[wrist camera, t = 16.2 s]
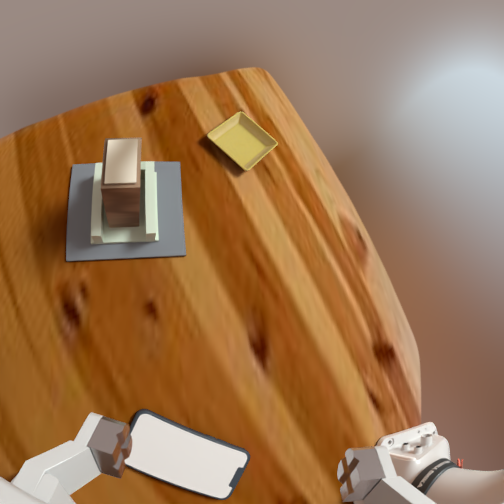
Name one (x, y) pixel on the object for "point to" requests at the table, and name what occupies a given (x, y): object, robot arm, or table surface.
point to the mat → (165, 247)
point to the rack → (146, 216)
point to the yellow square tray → (242, 140)
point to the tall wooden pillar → (121, 181)
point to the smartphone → (184, 456)
